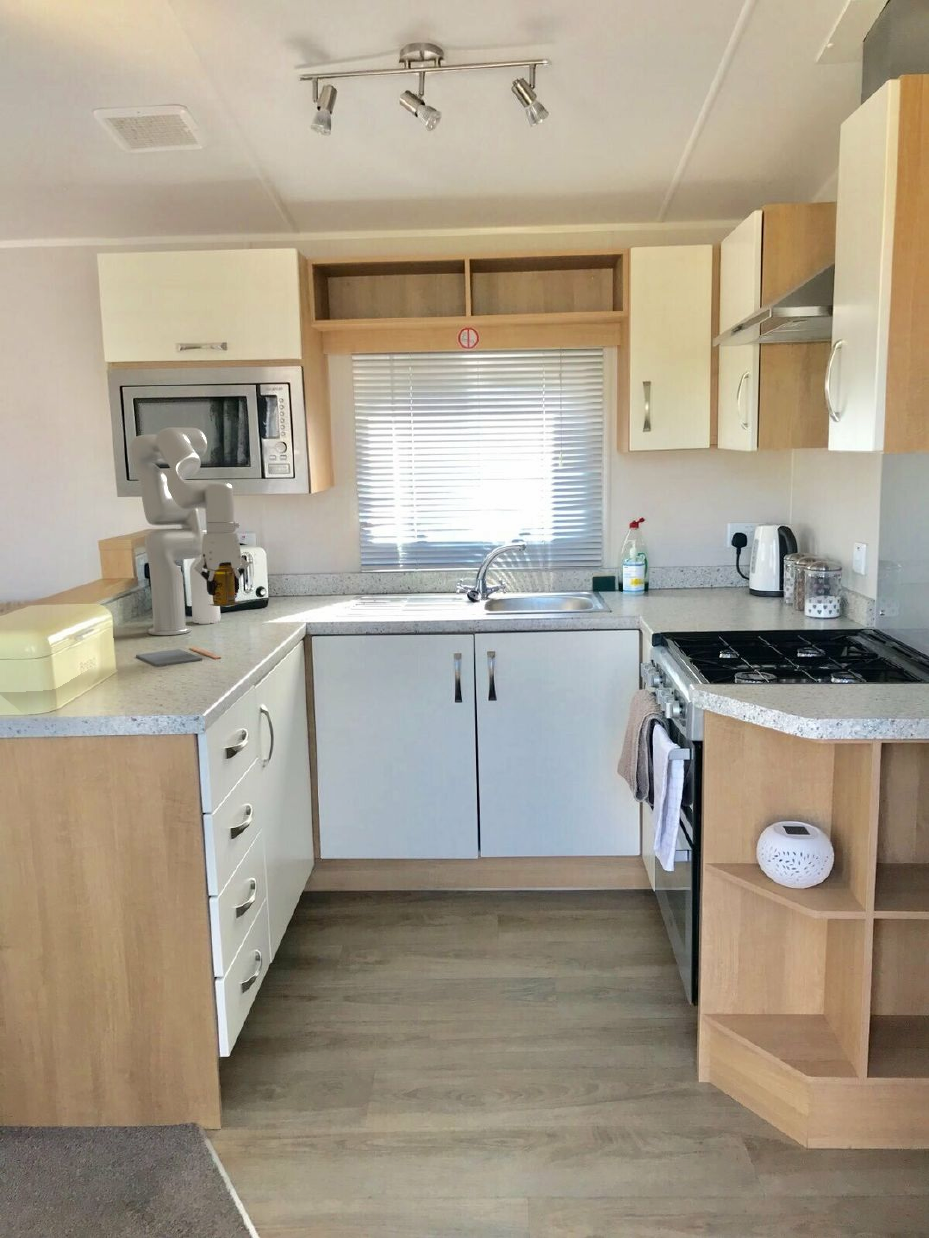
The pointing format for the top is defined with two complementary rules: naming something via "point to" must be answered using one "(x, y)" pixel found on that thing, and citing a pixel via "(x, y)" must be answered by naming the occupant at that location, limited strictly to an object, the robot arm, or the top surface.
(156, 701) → the top surface
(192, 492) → the robot arm
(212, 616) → the alcohol
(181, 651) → the mat
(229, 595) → the condiment
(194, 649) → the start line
